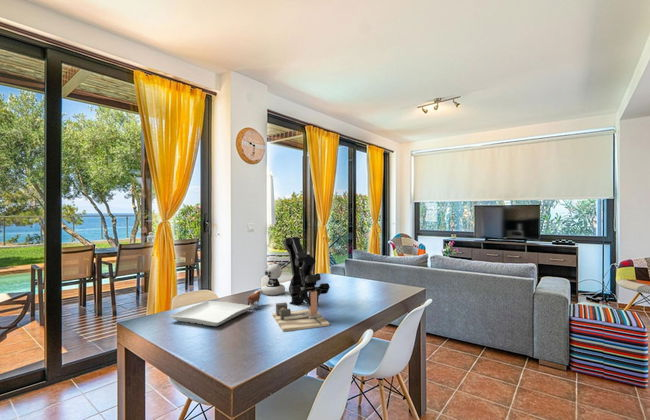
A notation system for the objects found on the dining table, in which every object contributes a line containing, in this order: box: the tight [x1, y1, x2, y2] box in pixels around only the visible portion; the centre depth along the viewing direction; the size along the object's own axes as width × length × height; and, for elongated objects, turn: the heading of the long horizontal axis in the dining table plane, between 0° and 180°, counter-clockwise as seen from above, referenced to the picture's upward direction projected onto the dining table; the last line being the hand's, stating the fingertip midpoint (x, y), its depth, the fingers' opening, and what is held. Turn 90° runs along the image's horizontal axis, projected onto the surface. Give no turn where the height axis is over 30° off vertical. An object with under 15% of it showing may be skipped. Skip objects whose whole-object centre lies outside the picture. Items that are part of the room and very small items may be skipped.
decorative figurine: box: [260, 261, 286, 296], centre depth 205 cm, size 15×15×20 cm
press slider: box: [280, 290, 322, 320], centre depth 154 cm, size 6×18×12 cm, turn 110°
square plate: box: [169, 300, 252, 327], centre depth 160 cm, size 27×27×4 cm
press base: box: [272, 302, 331, 333], centre depth 154 cm, size 23×21×6 cm
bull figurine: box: [247, 288, 265, 310], centre depth 177 cm, size 4×13×8 cm, turn 161°
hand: (313, 305), depth 155 cm, fingers closed on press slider, 3 cm apart
